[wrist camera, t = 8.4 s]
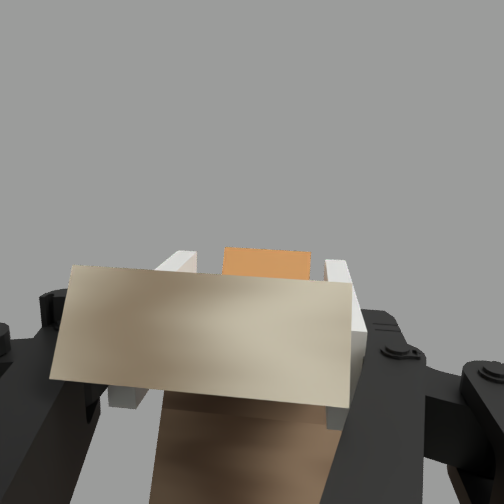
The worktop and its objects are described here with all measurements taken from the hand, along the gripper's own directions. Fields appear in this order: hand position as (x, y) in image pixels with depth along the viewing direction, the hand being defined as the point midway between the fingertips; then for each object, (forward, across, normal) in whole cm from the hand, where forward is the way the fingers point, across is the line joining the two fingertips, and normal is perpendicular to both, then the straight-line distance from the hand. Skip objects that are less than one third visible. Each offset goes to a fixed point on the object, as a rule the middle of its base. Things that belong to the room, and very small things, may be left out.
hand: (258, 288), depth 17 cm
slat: (-1, 0, +4) cm, 4 cm away
